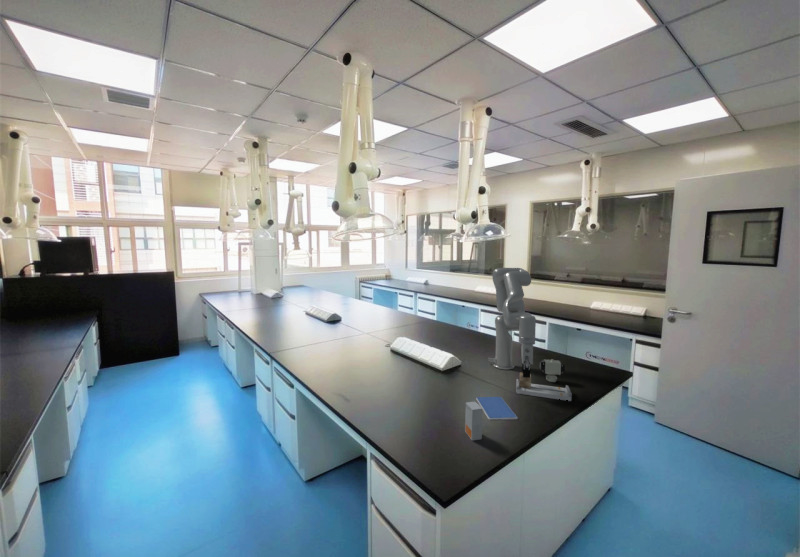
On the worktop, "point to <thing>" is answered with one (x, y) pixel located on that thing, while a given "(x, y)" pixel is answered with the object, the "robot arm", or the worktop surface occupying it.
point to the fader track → (545, 391)
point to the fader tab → (525, 381)
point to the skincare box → (473, 421)
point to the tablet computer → (496, 408)
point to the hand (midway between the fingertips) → (526, 373)
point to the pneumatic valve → (552, 369)
